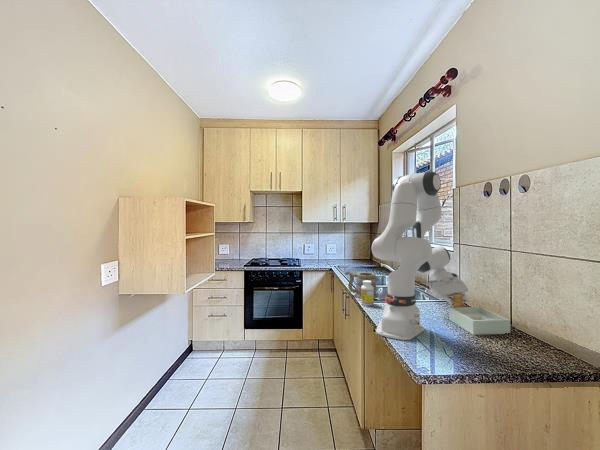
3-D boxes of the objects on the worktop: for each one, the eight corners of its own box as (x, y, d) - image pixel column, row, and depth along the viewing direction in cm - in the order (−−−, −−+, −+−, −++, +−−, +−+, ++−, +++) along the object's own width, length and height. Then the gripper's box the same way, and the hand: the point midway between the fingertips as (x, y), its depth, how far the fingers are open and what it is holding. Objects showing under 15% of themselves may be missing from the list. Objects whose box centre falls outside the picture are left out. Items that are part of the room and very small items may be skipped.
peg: (462, 316, 138) (462, 295, 138) (453, 315, 140) (452, 294, 140) (463, 314, 141) (463, 294, 141) (454, 313, 143) (453, 293, 143)
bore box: (510, 333, 117) (510, 319, 117) (473, 334, 116) (473, 320, 116) (481, 318, 135) (481, 306, 135) (449, 319, 134) (449, 307, 134)
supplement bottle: (359, 302, 165) (359, 280, 165) (371, 302, 165) (370, 279, 165) (363, 306, 158) (363, 282, 158) (375, 305, 159) (374, 282, 159)
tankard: (380, 295, 180) (379, 271, 179) (373, 300, 169) (372, 274, 169) (349, 292, 191) (349, 269, 190) (341, 296, 180) (341, 272, 180)
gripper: (429, 277, 143) (447, 302, 134) (459, 273, 151) (477, 297, 142) (423, 284, 147) (439, 309, 138) (452, 281, 155) (469, 304, 146)
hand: (459, 303), depth 140 cm, fingers open, 8 cm apart
